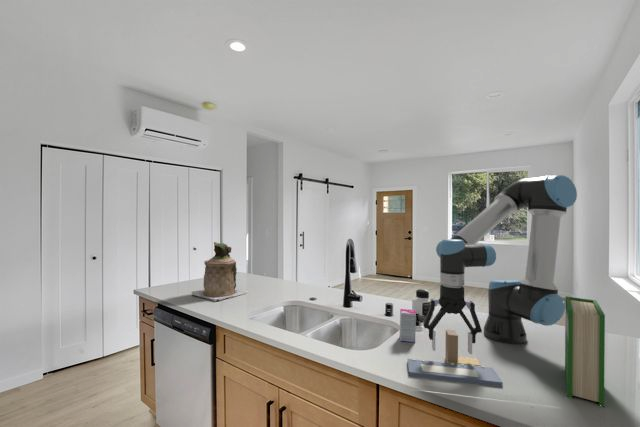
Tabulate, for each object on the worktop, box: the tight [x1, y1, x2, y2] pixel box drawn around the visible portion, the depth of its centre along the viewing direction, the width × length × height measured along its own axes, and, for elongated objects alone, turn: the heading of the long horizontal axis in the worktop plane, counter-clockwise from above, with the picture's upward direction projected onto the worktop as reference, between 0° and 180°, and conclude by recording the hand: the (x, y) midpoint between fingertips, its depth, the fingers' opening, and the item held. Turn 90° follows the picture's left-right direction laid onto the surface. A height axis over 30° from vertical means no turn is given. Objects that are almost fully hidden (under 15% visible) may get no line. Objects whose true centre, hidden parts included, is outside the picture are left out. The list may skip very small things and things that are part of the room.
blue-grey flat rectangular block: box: [407, 358, 503, 388], centre depth 98 cm, size 26×9×2 cm, turn 77°
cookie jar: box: [191, 241, 248, 302], centre depth 192 cm, size 25×25×32 cm
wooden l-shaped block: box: [445, 329, 482, 366], centre depth 105 cm, size 10×5×10 cm, turn 77°
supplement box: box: [399, 308, 417, 344], centre depth 125 cm, size 6×6×12 cm
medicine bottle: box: [411, 289, 434, 318], centre depth 157 cm, size 7×7×12 cm
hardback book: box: [564, 296, 606, 407], centre depth 91 cm, size 18×7×24 cm, turn 144°
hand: (451, 350), depth 106 cm, fingers open, 11 cm apart
